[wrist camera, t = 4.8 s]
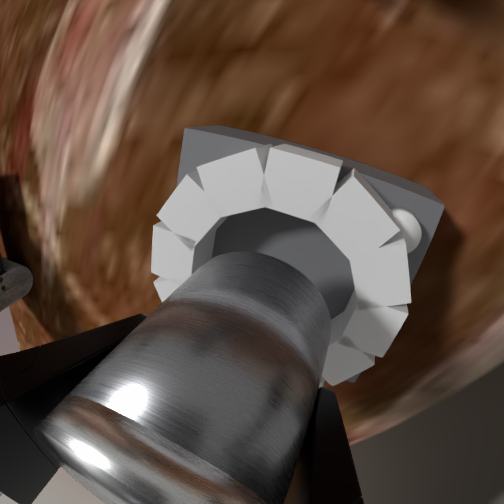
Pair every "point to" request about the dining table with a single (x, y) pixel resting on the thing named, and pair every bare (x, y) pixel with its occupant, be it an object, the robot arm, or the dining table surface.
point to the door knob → (201, 392)
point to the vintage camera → (13, 282)
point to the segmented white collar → (301, 230)
